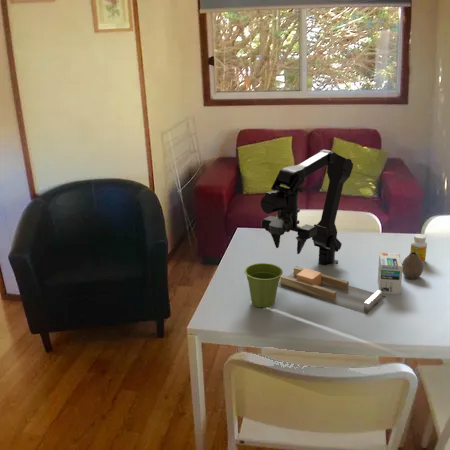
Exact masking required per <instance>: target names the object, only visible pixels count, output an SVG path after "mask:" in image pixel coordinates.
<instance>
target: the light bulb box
mask: <svg viewBox="0 0 450 450" xmlns="http://www.w3.org/2000/svg"><path fill="white" fill-rule="evenodd" d="M378 254H379V258H378V269H377V270H378V272H377V285H378V290H380V291H382V294H385V295H386V294H388V295H401V288H402V278H403V277H402V276H403V272H402V270H403V265H402V263H403V262H402V259H401V255H400V253H396V252H395V253H394V252H393V253H392V252H379V253H378Z"/></svg>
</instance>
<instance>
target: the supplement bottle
mask: <svg viewBox="0 0 450 450" xmlns="http://www.w3.org/2000/svg"><path fill="white" fill-rule="evenodd" d="M426 237H427V236H426V235H424V234H419V233H418V234H417V233H416V234H414V236H413V240H412V241H411V243H410V253H411V252H416V253H417V254H418V256H419V257H420V259H421V260H422V263H423V262H424V263H426V256H427V250H428V249H427V248H428V243H427V242H426V239H427V238H426ZM410 253H409V254H410ZM424 263H423V264H424Z"/></svg>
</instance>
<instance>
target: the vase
mask: <svg viewBox="0 0 450 450" xmlns="http://www.w3.org/2000/svg"><path fill="white" fill-rule="evenodd" d="M401 263H402V265H403V270H402V275H404V277H406V278H407V279H410V280H416V279H418V278H420V277H421V275H422V273H423V271H424V263H422V260H421V259H420V257H419V256H418V254H417V253H416V252H411V253H409V254H408V255H407V256H406V257H405V258H404V259H403V261H402V262H401Z"/></svg>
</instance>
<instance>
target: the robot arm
mask: <svg viewBox="0 0 450 450" xmlns="http://www.w3.org/2000/svg"><path fill="white" fill-rule="evenodd" d="M325 166H326V174H327V176H328V180H329V182H328V186H327V190H326V195H325V200H324V204H323V208H322V213H321V218H320V220H319V221H318V222H317V224H316V223H314V225H311V224H303V226H299V224H300V220H299V219H298V215H299V214H298V213H300V212H301V211H300V210H301V208H299V193H300V194H301V193H303V192H304V189H302V187H301V186H302V185H303V184H304V183H306V180H307V178H308V177H309V176H310V175H312V174H314V173H315V172H318V171H319V170H321V169H322V168H324V167H325ZM353 169H354V163H353V161H352V159H351V158H348V157H344V156H341V155H340V154H338V153H336V152H335V151H334V150H330V149H329V150H328V149H321V150H320V151H319V152H317V153H316V154H314V155H313V156H311V157H309V158H308V159H306V160H304V161H303V162H300V163H299V164H296V165H295V164H294V165H289V166H286V167H283V168H281V169H280V170H279V172H278V173H277V176H276V178H275V180H274V182H273V183H272V186H271V187H270V190H271V191H266V192H265V195H264V196H263V197H262V198H261V200H260V207H261V210H262V211H263V212H264V213H265V214H267V215H269V214H272V213H275V212H277V214H276V216H273V215H269V216H267V217H265V218H263V219H261V221H260V228H262V229H264V230H265V231H266V232H268V233H269V234H270V235H271V238H272V240H273V243H274V246H275V249H279V247H280V243H281V242H280V241H281V236H284V234H285V233H289V232H290V231H292V232H296V233H297V236H296V237H295V239H296V240H297V245H296V246H297V247H296V254H297V255H300V253H301V252H302V250H303V248H304V245H305V244H306V242H307V240H309V239H311V240H312V243H313V245H314V246H315V247H317V248H318V264H319V265H322V266H328V265H333V264H335V265H336V264H337V263H339V260H337V259H336V258H335V256H336V252H339V251H340V250H341V248H342V242H341V241H340V240H339V239H338V238H337V235H338V229H337V226H336V218H337V214H338V209H339V206H340V201H341V196H342V192H343V187H344V184H345V183H346V182H347V181H348V180H349V178H350V177H351V174H352V171H353Z"/></svg>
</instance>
